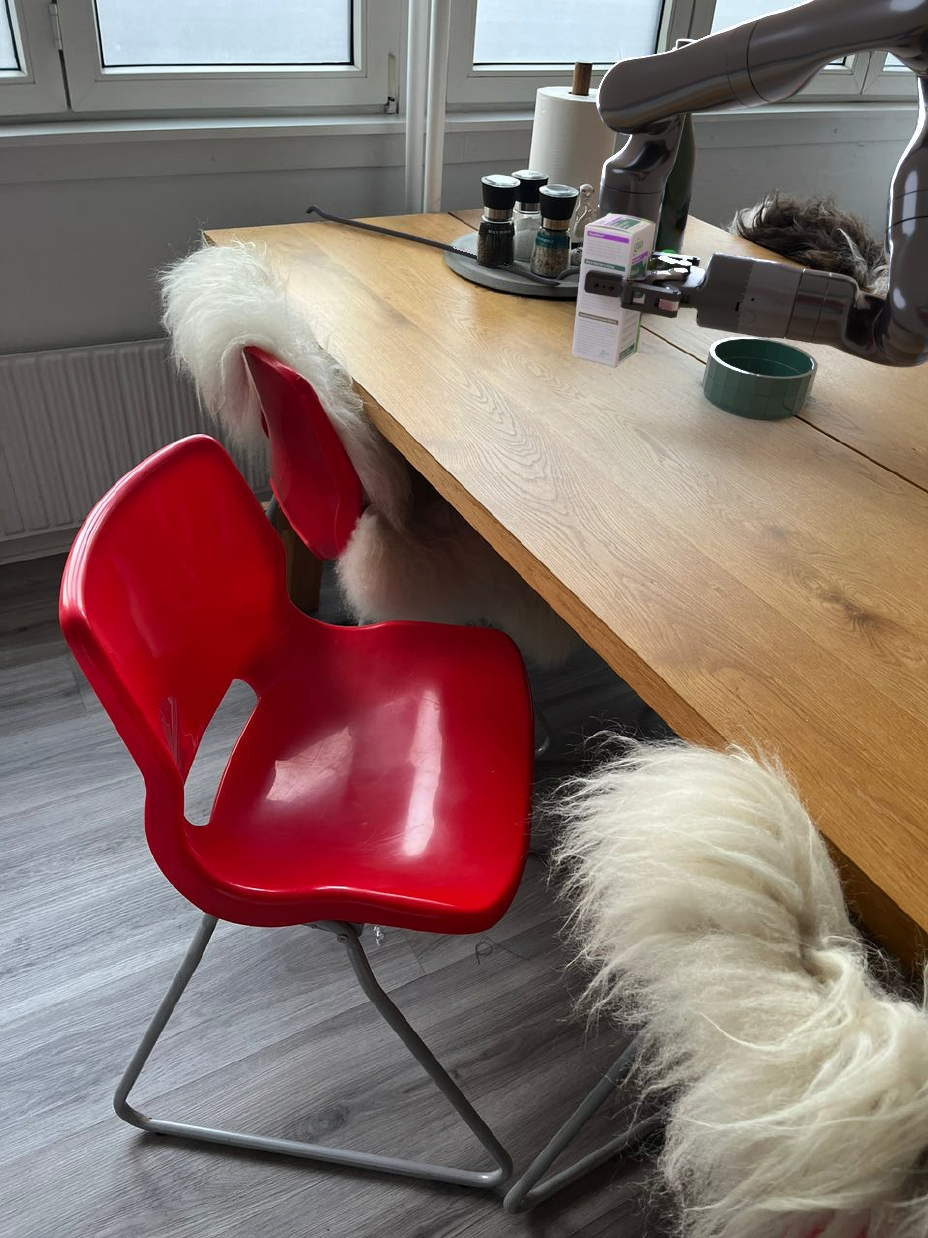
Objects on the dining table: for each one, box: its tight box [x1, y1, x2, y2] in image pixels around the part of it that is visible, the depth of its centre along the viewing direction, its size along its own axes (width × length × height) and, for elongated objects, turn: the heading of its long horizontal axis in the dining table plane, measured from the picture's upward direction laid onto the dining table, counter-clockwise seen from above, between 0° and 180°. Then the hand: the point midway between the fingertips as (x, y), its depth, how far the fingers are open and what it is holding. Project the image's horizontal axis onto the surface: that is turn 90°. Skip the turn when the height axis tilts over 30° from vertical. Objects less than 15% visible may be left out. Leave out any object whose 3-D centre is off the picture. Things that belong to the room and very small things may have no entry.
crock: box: [701, 336, 819, 421], centre depth 119 cm, size 13×13×6 cm
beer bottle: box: [654, 38, 698, 255], centre depth 159 cm, size 10×10×33 cm
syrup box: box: [571, 213, 656, 369], centre depth 103 cm, size 6×6×14 cm
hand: (594, 271), depth 102 cm, fingers closed on syrup box, 6 cm apart
